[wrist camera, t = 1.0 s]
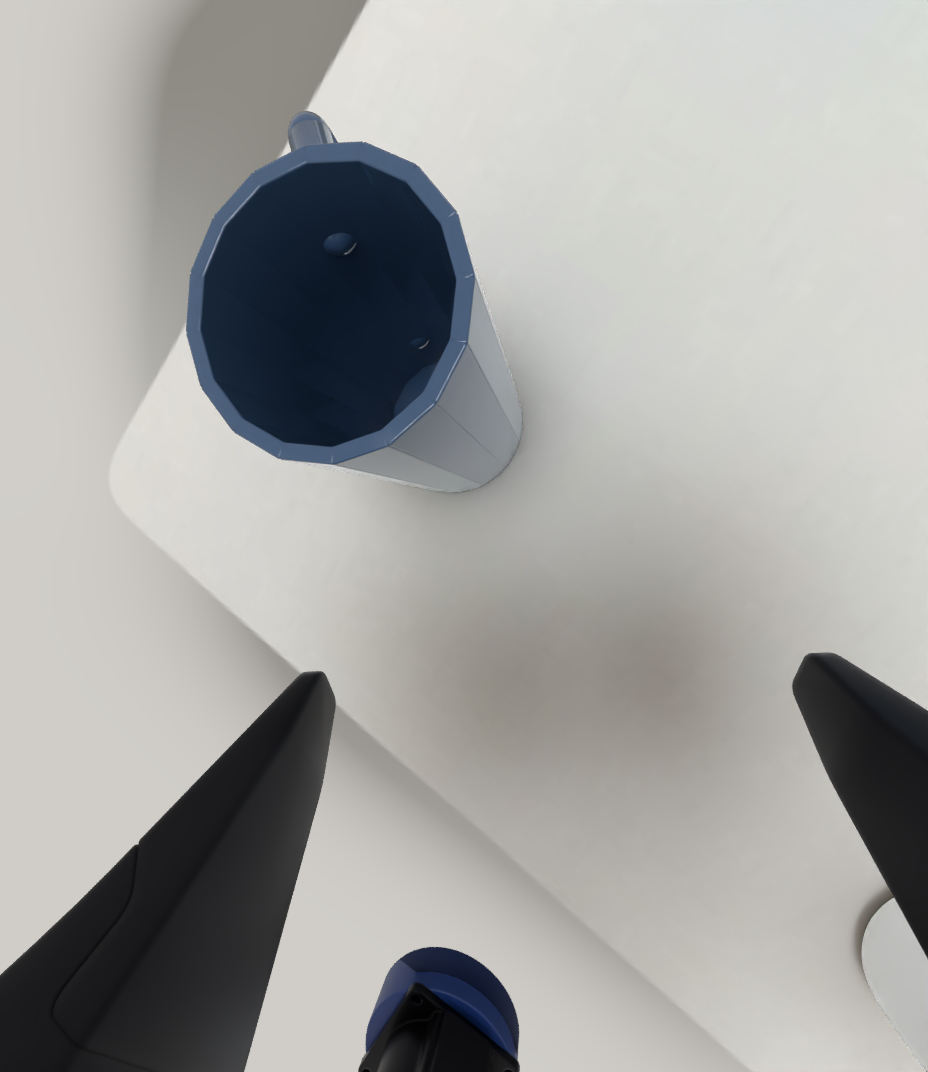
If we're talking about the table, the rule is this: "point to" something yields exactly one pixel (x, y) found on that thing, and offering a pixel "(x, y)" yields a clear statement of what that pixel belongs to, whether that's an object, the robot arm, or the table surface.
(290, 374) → the mug
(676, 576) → the table surface
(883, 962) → the water bottle
